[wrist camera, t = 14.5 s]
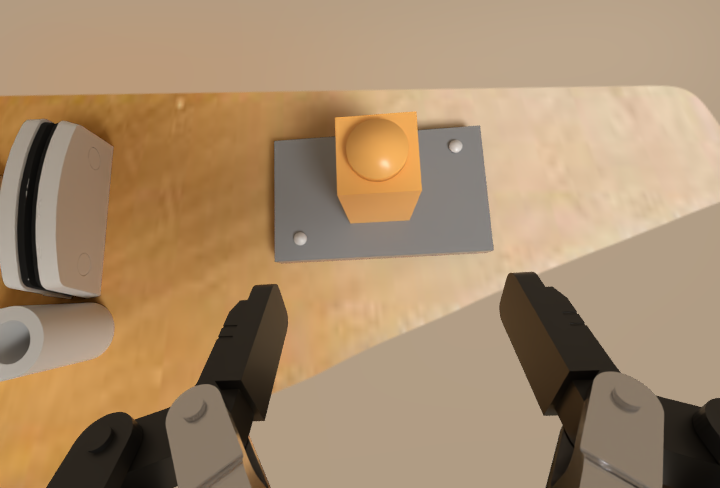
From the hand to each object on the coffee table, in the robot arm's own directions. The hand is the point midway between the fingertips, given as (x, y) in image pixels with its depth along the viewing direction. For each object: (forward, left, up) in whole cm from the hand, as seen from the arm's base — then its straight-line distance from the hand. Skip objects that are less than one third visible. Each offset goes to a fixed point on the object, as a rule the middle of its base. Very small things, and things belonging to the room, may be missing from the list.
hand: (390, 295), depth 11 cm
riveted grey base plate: (0, +9, -19) cm, 21 cm away
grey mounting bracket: (-36, -4, -20) cm, 41 cm away
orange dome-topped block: (0, +9, -17) cm, 19 cm away
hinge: (-30, +9, -19) cm, 37 cm away
